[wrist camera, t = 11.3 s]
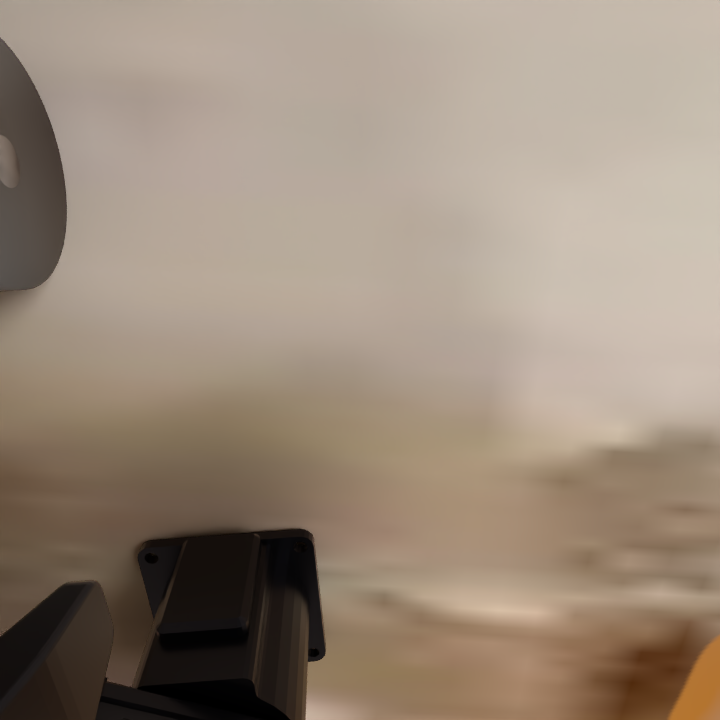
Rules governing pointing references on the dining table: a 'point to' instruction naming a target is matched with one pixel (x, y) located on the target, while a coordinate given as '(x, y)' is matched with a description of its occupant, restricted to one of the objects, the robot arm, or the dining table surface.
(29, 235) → the wooden toy car
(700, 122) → the dining table surface
